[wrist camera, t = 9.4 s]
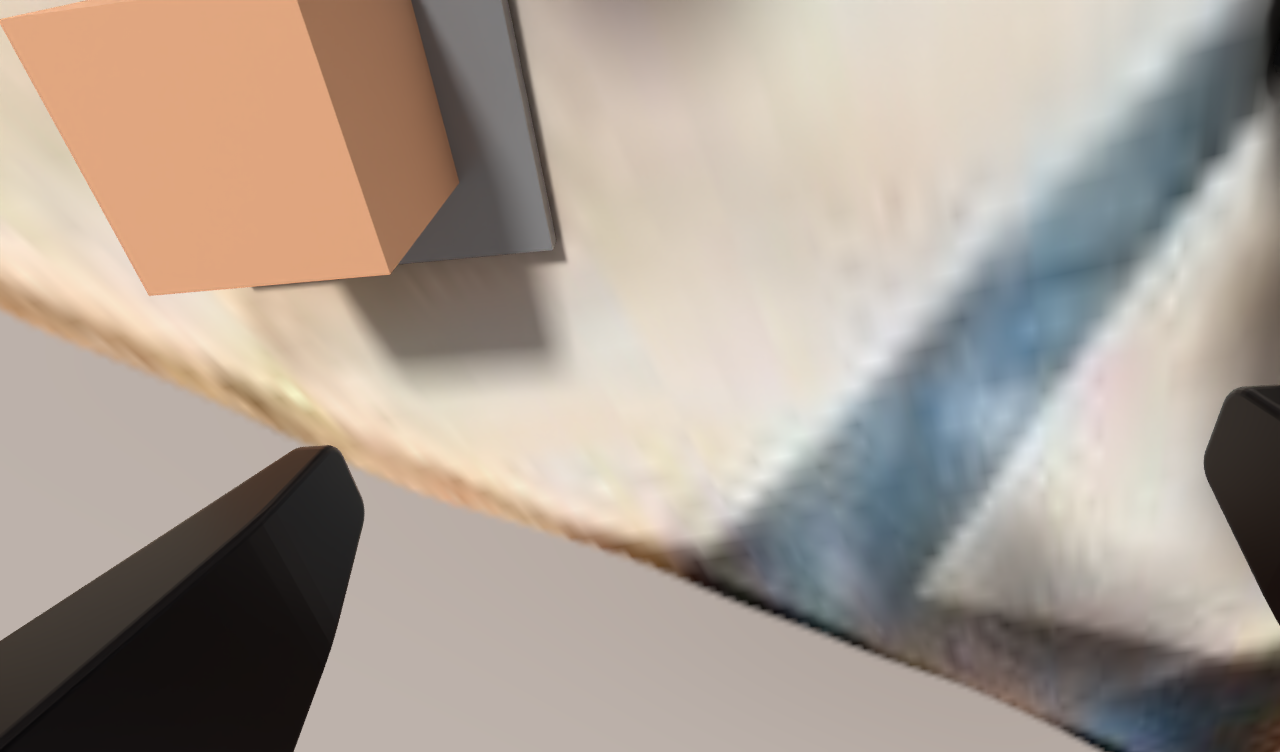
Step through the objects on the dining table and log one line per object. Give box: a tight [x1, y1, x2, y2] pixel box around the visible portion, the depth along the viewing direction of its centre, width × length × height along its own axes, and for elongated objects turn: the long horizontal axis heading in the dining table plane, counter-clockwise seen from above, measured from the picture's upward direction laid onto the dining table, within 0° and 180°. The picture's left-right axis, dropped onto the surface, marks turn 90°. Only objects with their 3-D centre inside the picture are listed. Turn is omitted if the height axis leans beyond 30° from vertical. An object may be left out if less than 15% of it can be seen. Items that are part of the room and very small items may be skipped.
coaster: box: [399, 0, 556, 264], centre depth 17 cm, size 9×9×1 cm
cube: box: [0, 0, 459, 296], centre depth 15 cm, size 5×5×5 cm
